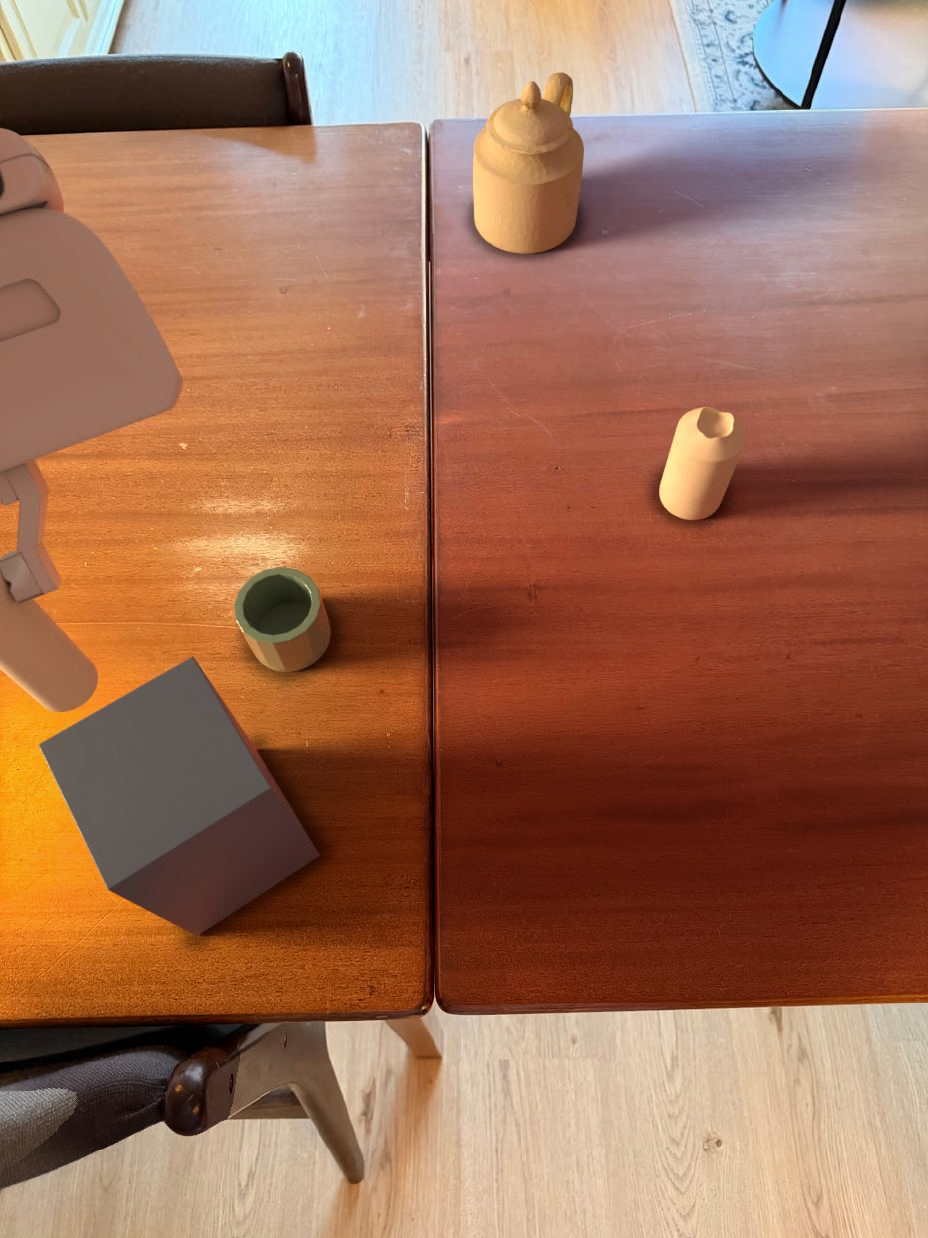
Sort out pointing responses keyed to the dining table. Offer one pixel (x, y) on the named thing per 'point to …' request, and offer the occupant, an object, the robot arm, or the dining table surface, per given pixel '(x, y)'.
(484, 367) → the dining table surface
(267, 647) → the holder
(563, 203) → the sugar bowl
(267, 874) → the riser
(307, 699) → the dining table surface
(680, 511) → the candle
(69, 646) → the taper
